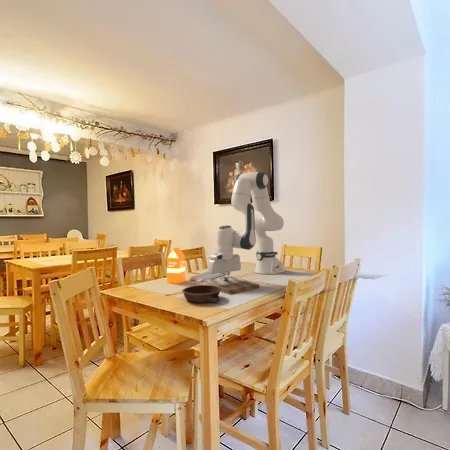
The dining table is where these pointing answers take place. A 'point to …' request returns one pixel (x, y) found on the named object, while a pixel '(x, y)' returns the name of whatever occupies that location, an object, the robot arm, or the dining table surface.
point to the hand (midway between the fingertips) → (225, 280)
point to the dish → (202, 293)
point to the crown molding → (205, 276)
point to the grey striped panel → (230, 280)
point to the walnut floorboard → (238, 287)
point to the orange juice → (176, 266)
